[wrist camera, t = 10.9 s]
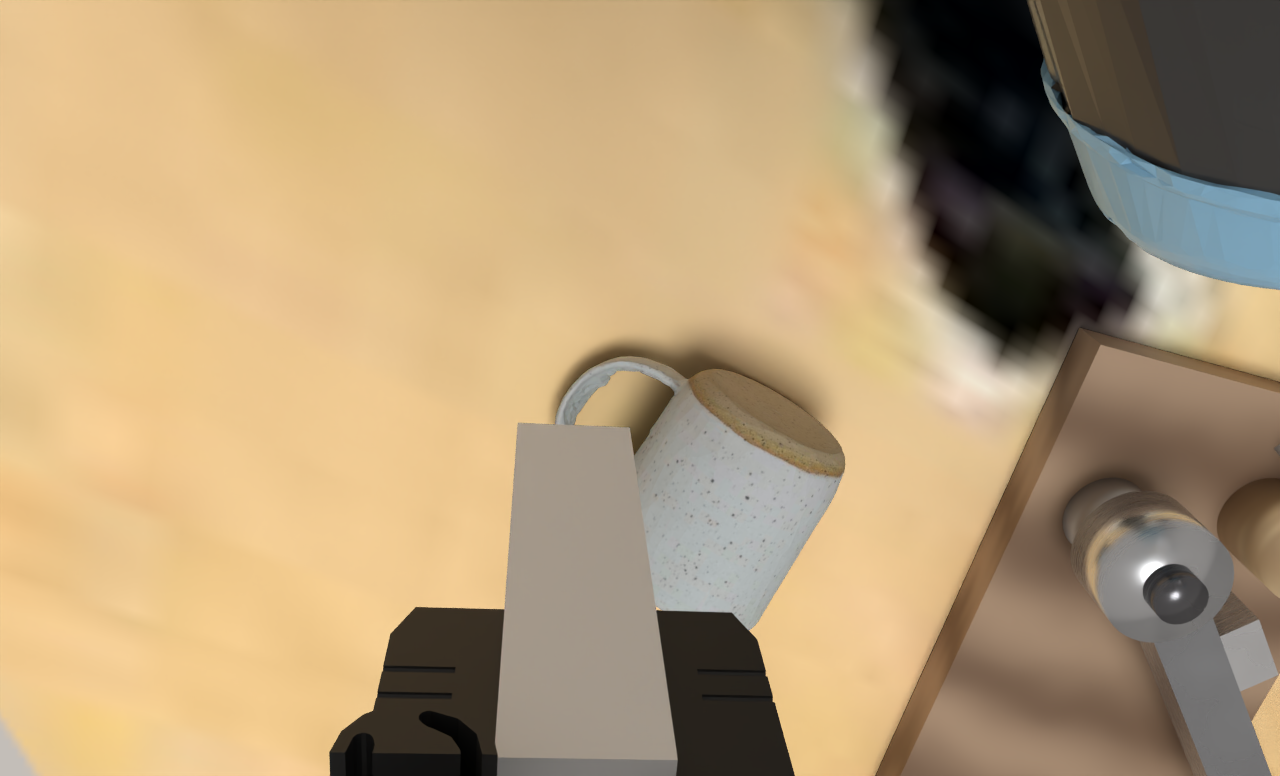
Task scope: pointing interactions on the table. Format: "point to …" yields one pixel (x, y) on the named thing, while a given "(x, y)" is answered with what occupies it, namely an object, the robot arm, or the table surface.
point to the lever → (1180, 622)
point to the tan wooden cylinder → (1254, 529)
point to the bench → (1052, 595)
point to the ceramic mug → (723, 486)
